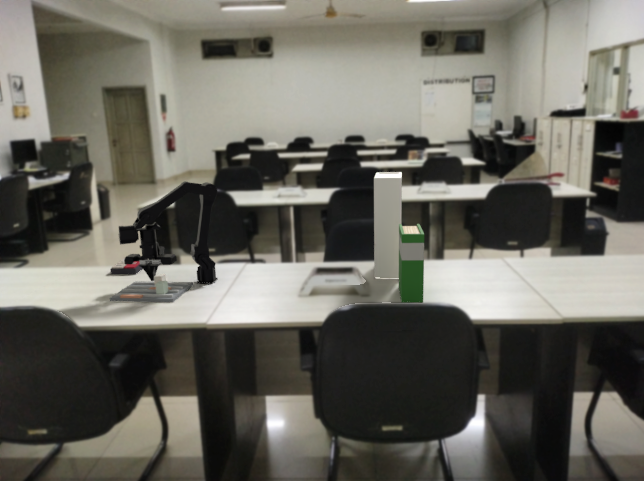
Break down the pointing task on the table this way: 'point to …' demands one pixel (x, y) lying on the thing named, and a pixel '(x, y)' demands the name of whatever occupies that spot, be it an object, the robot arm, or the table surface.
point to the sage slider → (162, 287)
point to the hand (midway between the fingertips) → (152, 280)
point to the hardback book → (411, 263)
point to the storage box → (387, 223)
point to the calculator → (126, 268)
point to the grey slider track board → (151, 292)
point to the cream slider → (159, 278)
